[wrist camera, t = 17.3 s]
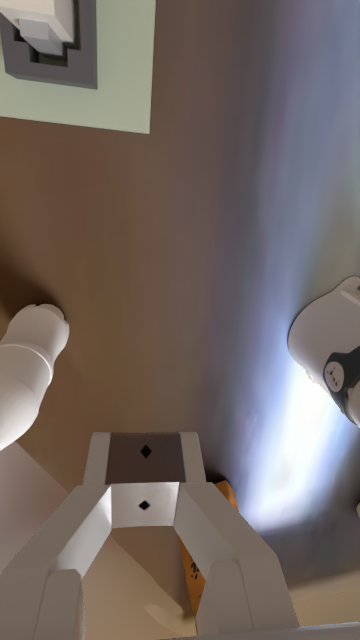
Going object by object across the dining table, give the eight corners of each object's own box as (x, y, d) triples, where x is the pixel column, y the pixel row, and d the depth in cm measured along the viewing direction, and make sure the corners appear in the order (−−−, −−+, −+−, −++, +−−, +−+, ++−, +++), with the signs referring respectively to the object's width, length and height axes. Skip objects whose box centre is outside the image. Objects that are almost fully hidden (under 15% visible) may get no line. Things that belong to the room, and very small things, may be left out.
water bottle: (21, 291, 42) (-112, 447, 20) (76, 304, 44) (9, 462, 22) (16, 336, 45) (-104, 513, 23) (68, 347, 47) (1, 522, 25)
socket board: (159, -80, 28) (161, -117, 24) (149, 134, 35) (149, 132, 31) (-69, -127, 25) (-109, -178, 21) (-28, 112, 33) (-51, 108, 29)
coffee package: (170, 485, 65) (181, 628, 45) (230, 472, 65) (266, 611, 45) (179, 512, 69) (192, 653, 50) (235, 501, 69) (269, 637, 50)
